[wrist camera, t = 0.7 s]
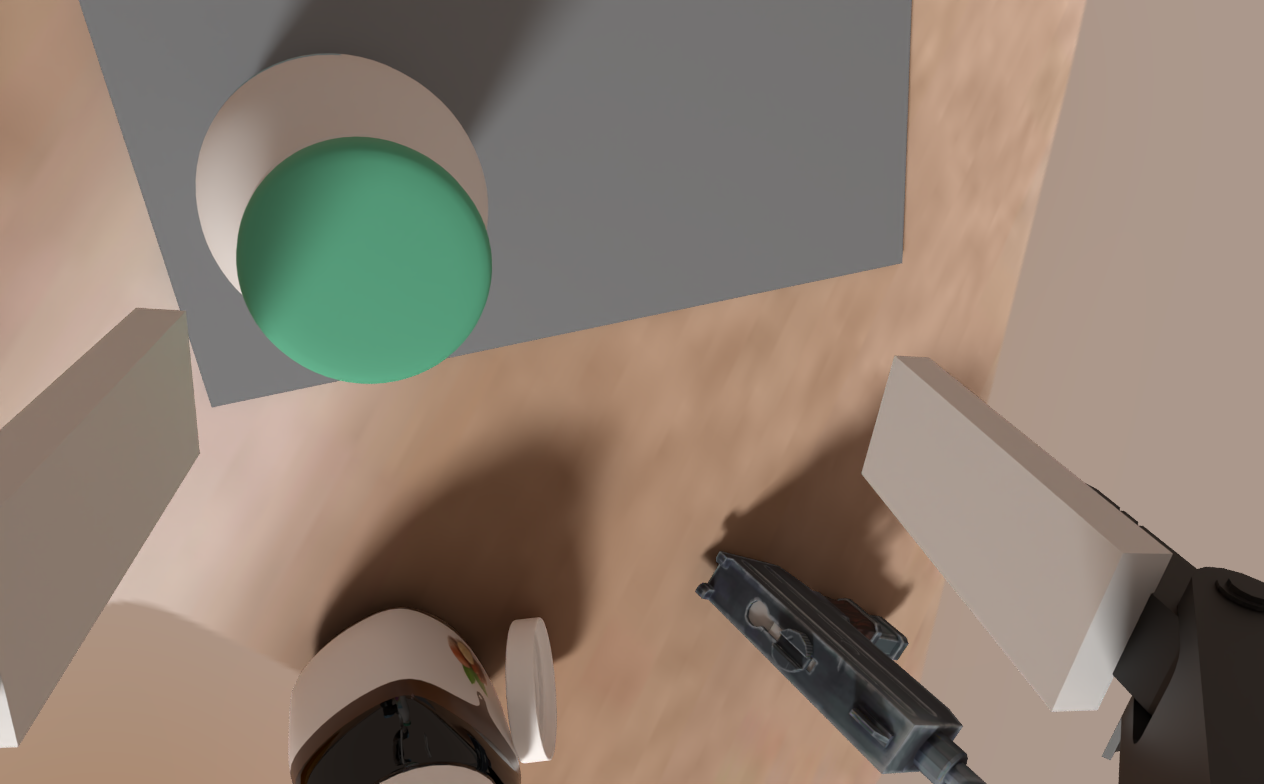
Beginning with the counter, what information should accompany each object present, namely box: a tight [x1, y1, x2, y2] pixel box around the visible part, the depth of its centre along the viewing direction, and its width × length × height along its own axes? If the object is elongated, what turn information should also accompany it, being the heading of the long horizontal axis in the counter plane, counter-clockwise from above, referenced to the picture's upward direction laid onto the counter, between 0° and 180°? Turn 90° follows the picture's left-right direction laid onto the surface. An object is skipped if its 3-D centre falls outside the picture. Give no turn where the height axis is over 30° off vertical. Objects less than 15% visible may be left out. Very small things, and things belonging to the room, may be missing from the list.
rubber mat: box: [79, 0, 912, 407], centre depth 36 cm, size 34×18×1 cm, turn 95°
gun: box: [695, 551, 986, 784], centre depth 44 cm, size 3×17×15 cm
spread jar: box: [289, 607, 557, 784], centre depth 38 cm, size 12×11×12 cm
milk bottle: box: [196, 53, 492, 384], centre depth 24 cm, size 8×8×20 cm
